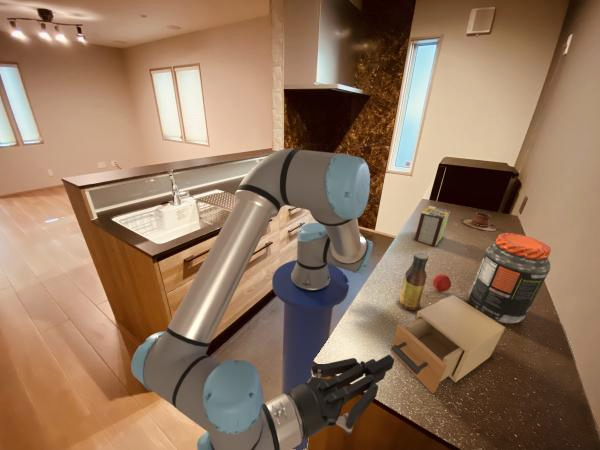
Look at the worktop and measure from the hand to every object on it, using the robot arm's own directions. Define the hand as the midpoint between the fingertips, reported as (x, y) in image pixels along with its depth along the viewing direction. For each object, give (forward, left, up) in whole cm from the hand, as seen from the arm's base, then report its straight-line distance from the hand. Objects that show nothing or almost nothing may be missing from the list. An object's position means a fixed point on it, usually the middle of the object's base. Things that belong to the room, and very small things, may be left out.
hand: (390, 361), depth 54 cm
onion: (-17, +46, -10) cm, 50 cm away
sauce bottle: (-17, +29, -10) cm, 35 cm away
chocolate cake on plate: (-47, +131, -10) cm, 140 cm away
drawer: (0, +14, -9) cm, 17 cm away
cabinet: (0, +25, -9) cm, 27 cm away
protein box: (-48, +82, -10) cm, 96 cm away
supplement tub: (-3, +55, -10) cm, 56 cm away
